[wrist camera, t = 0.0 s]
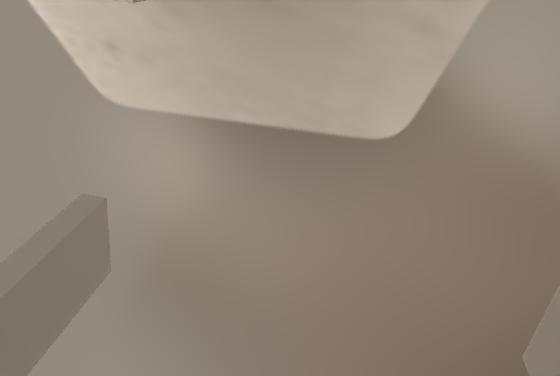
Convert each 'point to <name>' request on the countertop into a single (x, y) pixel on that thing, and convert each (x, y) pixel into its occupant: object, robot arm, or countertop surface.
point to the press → (130, 1)
